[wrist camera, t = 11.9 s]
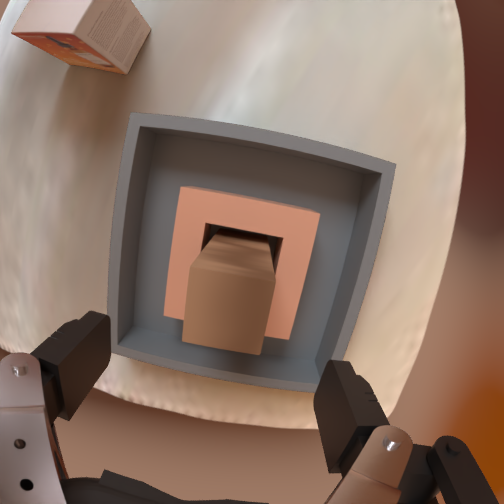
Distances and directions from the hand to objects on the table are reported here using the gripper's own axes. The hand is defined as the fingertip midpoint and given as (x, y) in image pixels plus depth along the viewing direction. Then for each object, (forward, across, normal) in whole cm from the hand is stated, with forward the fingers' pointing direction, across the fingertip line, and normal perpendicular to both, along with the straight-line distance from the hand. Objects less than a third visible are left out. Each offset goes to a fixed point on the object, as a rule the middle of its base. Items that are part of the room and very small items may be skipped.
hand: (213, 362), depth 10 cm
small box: (+18, +17, -18) cm, 30 cm away
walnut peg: (+16, 0, 0) cm, 16 cm away
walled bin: (+17, 0, 0) cm, 17 cm away
